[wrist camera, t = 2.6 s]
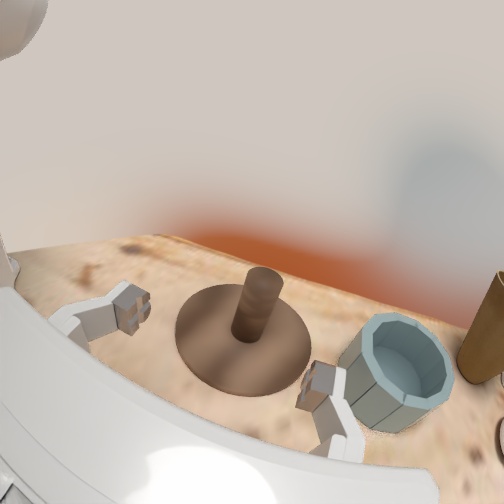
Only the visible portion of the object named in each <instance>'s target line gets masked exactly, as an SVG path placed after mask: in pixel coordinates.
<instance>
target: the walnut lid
mask: <svg viewBox="0 0 504 504" xmlns="http://www.w3.org/2000/svg"><path fill="white" fill-rule="evenodd" d="M282 287H283V279H282V278H281V276H280V275H279V274H278V273H277V272H275V271H273V270H271V269H269V268H265V267H255V268H252V269H250V270H249V271H248V273H247V277H246V280H245V283H244V285H237V284H224V285H217V286H212V287H209V288H205V289H203V290H201V291H199V292H197V293H196V294H194V295H193V296H191V297H190V298H189V299H188V300H187V301H186V302H185V303H184V305H183V306H182V308H181V309H180V311H179V314H178V317H177V321H176V333H175V337H176V344H177V348H178V351H179V353H180V355H181V357H182V359H183V361H184V362H185V364H186V365H187V367H188V368H189V369H190V370H191V371H192V372H193V373H194V374H195V375H196V376H197V377H198V378H199V379H201V380H202V381H203V382H205V383H206V384H208V385H210V386H211V387H213V388H216V389H218V390H220V391H223V392H226V393H229V394H233V395H238V396H247V397H256V396H265V395H270V394H273V393H276V392H279V391H281V390H283V389H285V388H287V387H288V386H290V385H291V384H292V383H294V382H295V381H296V380H297V379H298V378H299V376H300V375H301V374H302V372H303V371H304V369H305V368H306V366H307V364H308V362H309V359H310V355H311V340H310V335H309V332H308V330H307V327H306V325H305V324H304V322H303V320H302V319H301V317H300V316H299V315H298V314H297V313H296V311H295V310H294V309H292V308H291V307H290V306H289V305H288V304H287V303H285V302H284V301H283V300H281V299H280V298H278V296H279V294H280V292H281V289H282Z"/></svg>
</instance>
